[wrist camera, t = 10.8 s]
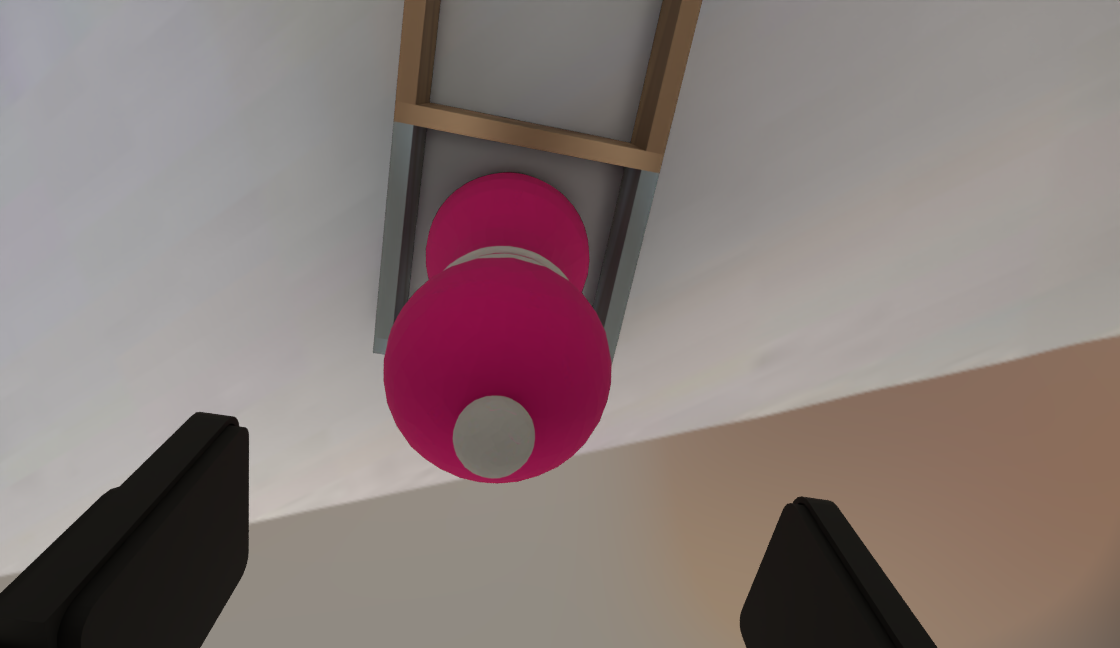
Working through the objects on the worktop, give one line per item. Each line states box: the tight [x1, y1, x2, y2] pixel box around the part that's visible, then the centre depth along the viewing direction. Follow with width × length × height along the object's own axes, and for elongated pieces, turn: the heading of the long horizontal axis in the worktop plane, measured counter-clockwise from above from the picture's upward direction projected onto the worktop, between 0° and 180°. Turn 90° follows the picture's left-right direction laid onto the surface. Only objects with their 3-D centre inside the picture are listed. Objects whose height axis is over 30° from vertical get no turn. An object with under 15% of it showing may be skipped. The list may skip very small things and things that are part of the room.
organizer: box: [373, 0, 702, 366], centre depth 27 cm, size 11×22×4 cm, turn 169°
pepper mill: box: [384, 172, 611, 483], centre depth 21 cm, size 7×7×20 cm
